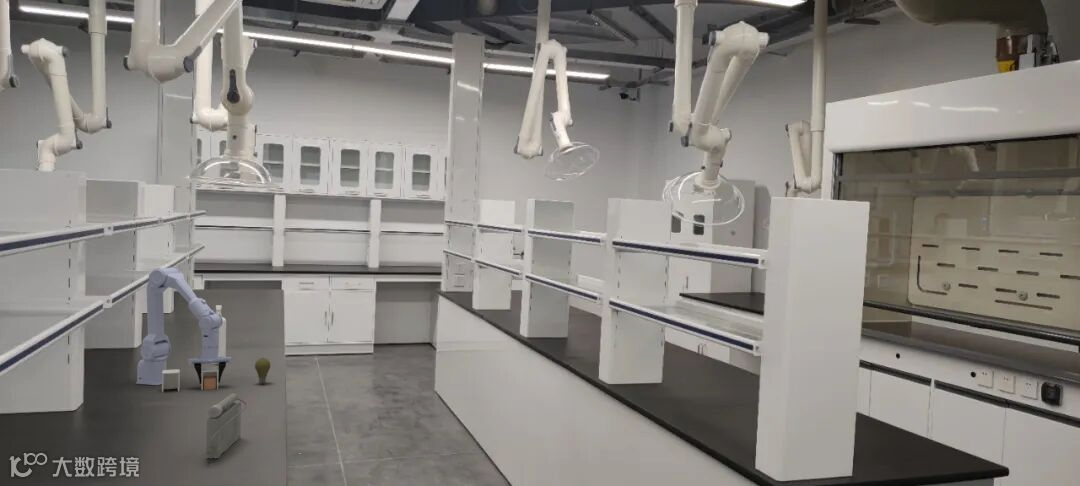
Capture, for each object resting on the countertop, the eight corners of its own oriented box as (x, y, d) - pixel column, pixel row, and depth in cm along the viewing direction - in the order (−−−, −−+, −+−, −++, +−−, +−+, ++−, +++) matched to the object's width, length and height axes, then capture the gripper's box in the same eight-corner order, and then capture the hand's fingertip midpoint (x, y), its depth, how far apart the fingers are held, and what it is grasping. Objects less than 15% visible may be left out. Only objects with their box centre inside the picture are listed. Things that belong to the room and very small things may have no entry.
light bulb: (264, 386, 285) (265, 360, 284) (251, 385, 286) (252, 358, 286) (273, 383, 290) (273, 357, 290) (259, 381, 291) (260, 356, 291)
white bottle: (207, 365, 317) (209, 306, 317) (209, 361, 328) (212, 303, 328) (224, 365, 319) (227, 306, 319) (226, 360, 330) (228, 304, 330)
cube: (203, 389, 277) (204, 379, 277) (203, 387, 280) (203, 376, 280) (215, 389, 278) (215, 378, 278) (215, 386, 282) (215, 376, 282)
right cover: (201, 390, 276) (201, 371, 275) (201, 386, 281) (201, 368, 280) (218, 389, 278) (218, 370, 278) (217, 385, 283) (218, 367, 283)
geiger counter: (227, 390, 221) (195, 412, 196) (249, 390, 221) (220, 412, 196) (226, 437, 221) (194, 465, 196) (248, 437, 222) (219, 465, 197)
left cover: (161, 392, 270) (162, 373, 270) (162, 388, 275) (162, 370, 275) (179, 391, 273) (179, 372, 272) (179, 387, 278) (179, 369, 277)
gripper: (188, 349, 272) (188, 386, 273) (232, 347, 278) (231, 383, 279) (188, 345, 278) (188, 382, 279) (231, 344, 285) (230, 379, 285)
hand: (209, 382), depth 279 cm, fingers closed on right cover, 6 cm apart
